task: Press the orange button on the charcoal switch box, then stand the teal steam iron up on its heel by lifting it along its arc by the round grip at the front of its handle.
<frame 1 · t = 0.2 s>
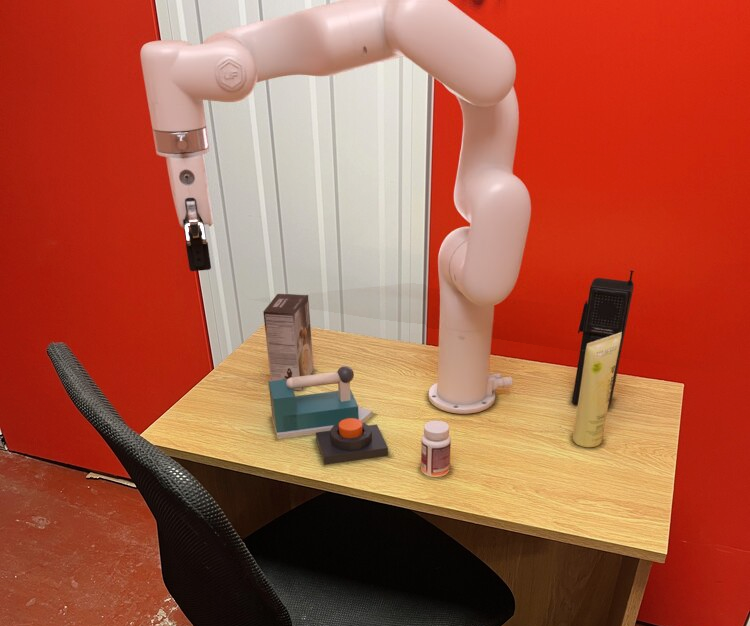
hand: (198, 259, 121), 31 cm above the table, tool pointing down, fingers open, 9 cm apart
power button: (350, 428, 132), point 4 cm above the table, slide at 0.1 cm
coffee box: (292, 380, 155), on the table
switch box: (351, 448, 134), on the table
portable radio: (589, 401, 146), on the table
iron: (322, 396, 138), point 5 cm above the table, hinge at 0.0°
pill bottle: (434, 471, 128), on the table
tube: (585, 442, 135), on the table
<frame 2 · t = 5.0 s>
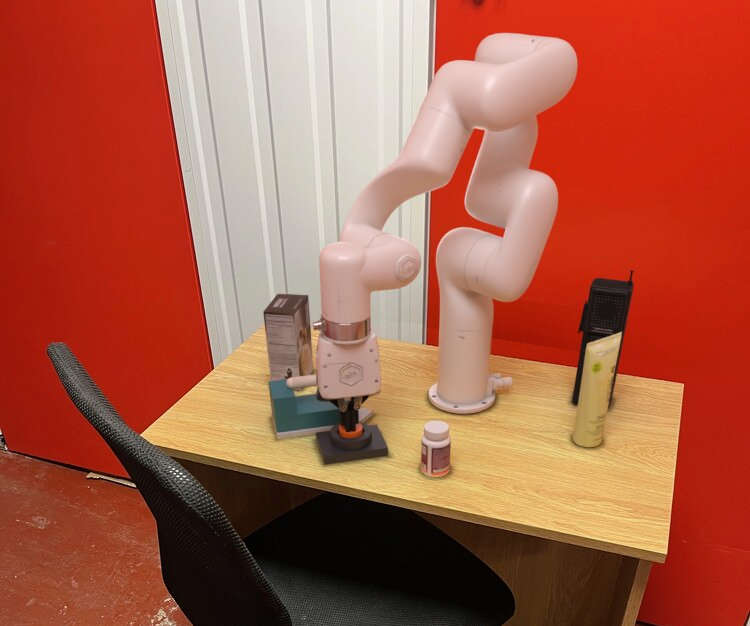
hand: (349, 427, 131), 4 cm above the table, tool pointing down, fingers closed
power button: (350, 431, 132), point 3 cm above the table, slide at -0.5 cm, touching gripper
everything else where it was.
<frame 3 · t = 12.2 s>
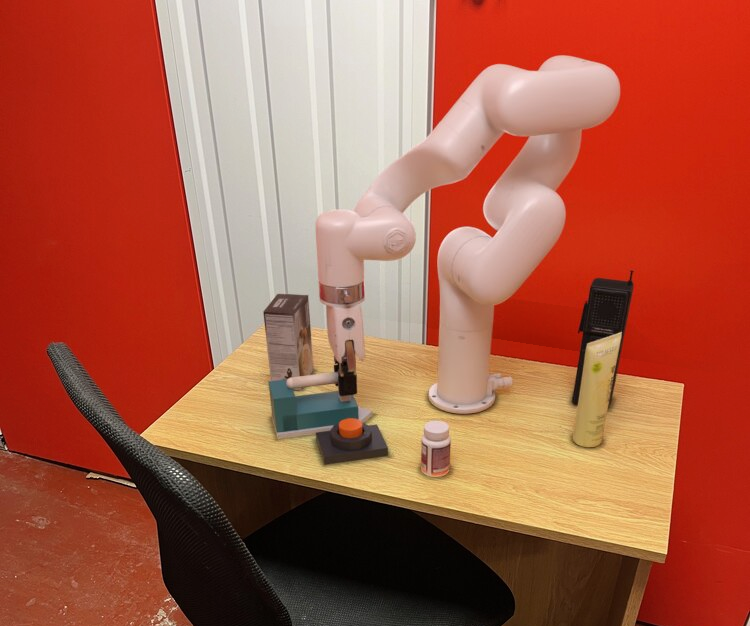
hand: (345, 388, 138), 6 cm above the table, tool pointing down, fingers closed on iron, 3 cm apart
power button: (350, 428, 132), point 4 cm above the table, slide at 0.1 cm
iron: (322, 396, 138), point 5 cm above the table, hinge at 0.0°, touching gripper
everything else where it was.
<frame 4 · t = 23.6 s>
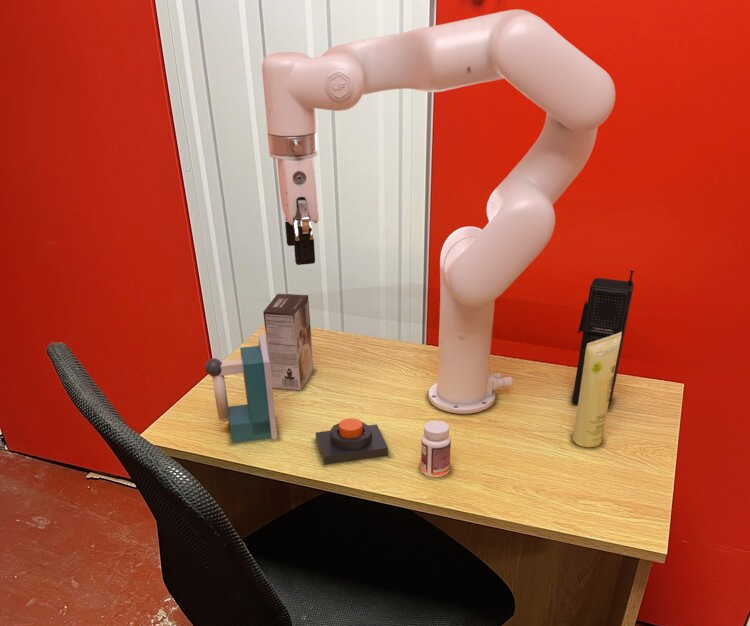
hand: (300, 253, 130), 28 cm above the table, tool pointing down, fingers open, 9 cm apart
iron: (239, 387, 133), point 9 cm above the table, hinge at 90.0°
everything else where it was.
at the end: power button pushed in 0.9 cm at the most during the clip, back to where it started at the end; power button slide at 0.1 cm; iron at +90° (first picture: +0°) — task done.
